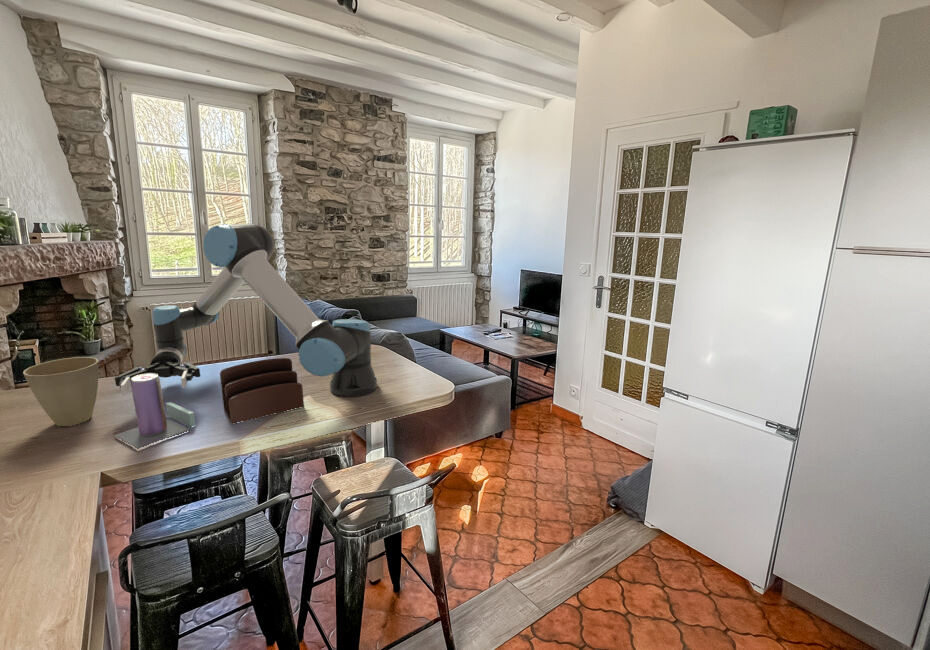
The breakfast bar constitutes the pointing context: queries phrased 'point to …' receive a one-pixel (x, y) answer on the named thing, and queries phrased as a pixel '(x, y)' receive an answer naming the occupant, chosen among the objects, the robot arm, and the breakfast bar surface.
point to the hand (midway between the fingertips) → (153, 386)
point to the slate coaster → (140, 441)
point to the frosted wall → (180, 414)
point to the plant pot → (65, 388)
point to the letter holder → (260, 389)
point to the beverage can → (148, 404)
